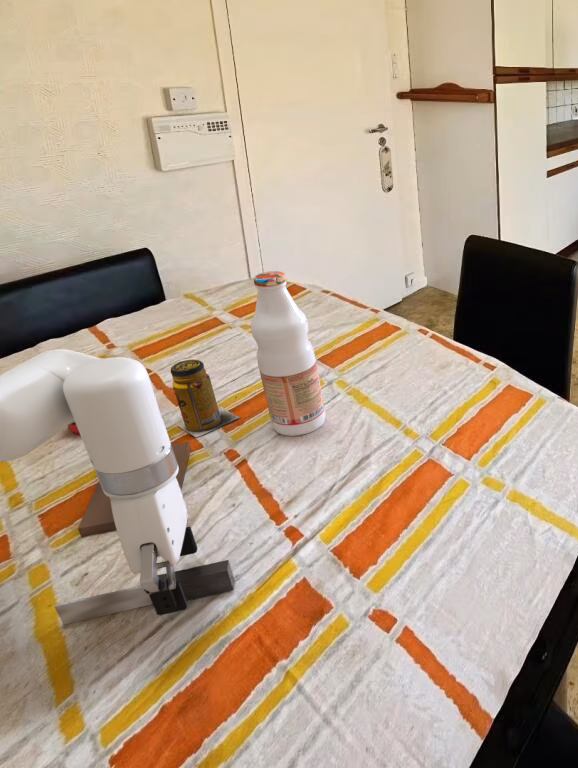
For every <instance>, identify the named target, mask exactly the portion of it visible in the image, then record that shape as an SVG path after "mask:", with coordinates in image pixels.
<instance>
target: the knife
mask: <svg viewBox="0 0 578 768" xmlns="http://www.w3.org/2000/svg"><path fill="white" fill-rule="evenodd" d="M174 571H175V580H176V581H177V582H178V581H179V582H180V585H181V587H182V590H183V593H184V596H185V598H186V601H187V602H189V601H193V600H197V599H201V598H206V597H211V596H215V595H219V594H224V593H228V592H232V591H234V590H235V589H234V588H235V576H234V573H233V570H232V566H231V563H230V560H229V559H226V560H225V559H224V560H221V561H217V562H212V563H207V564H202V565H198V566H193V567H189V568H188V567H187V568H185V569H180V570H174ZM157 576H158V577H159V580H160V579H167V573H161V574H157ZM151 605H152V606H153V604H152V601H151V599H150V596H149V595H148V594H147V593H146V592H145V591H144V588H143V587H141V585H137V586H134V587H128V588H124V589H120V590H115V591H110V592H106V593H102V594H97V595H93V596H88V597H87V596H86V597H84V598H79V599H73V600H70V601H64V602H60V603H57V604H55V605H54V609H55V611H56V613H57V615H58V618H59V619H60V621H61V623H62V625H68V624H72V623H76V622H81V621H86V620H90V619H94V618H98V617H103V616H107V615H112V614H116V613H120V612H121V613H122V612H125V611H130V610H134V609H138V608H142V607H146V606H147V607H148V606H151Z"/></svg>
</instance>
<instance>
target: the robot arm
mask: <svg viewBox="0 0 578 768" xmlns="http://www.w3.org/2000/svg"><path fill="white" fill-rule="evenodd" d="M154 390H155V389H154V387H153V383H152V380H151V378H150V375H149V373H148V370H147V369H146V367H145V366H144V364H142V363H141V362H139V361H138V360H136V359H134V358H130V357H124V356H123V357H122V356H115V357H113V356H112V357H107V358H101V357H98V356H94V355H90V354H86V353H82V352H79V351H76V350H71V349H65V348H55V349H49V350H46V351H42V352H41V353H38V354H36V355H34V356H33V357H31V358H29V359H27V360H25V361H24V362H22V363H20V364H19V365H16V366H14V367H12V368H10V369H8V370H7V371H5V372H3V373H1V374H0V462H9V461H15V460H17V459H20V458H22V457H24V456H27V455H28V454H30V453H31V452H33V451H34V450H35V449H38V447H40V446H41V445H42V444H44V443H45V442H47V441H48V440H50V438H52V437H53V436H55V435H56V434H57V433H59V432H60V431H62V430H63V429H64V428H65V427H68V425H69V424H71V423H73V422H75V423H76V425H77V428H78V430H79V433H80V435H79V436H80V438H81V440H82V442H83V446H84V448H85V450H86V452H87V455H88V457H89V459H90V462H91V465H92V467H93V470H94V472H95V474H96V477H97V480H98V481H99V482H100V484H101V487H102V490H103V492H104V494H105V495H107V496H108V497H110V498H111V507H112V513H113V517H114V522H115V526H116V529H117V530H116V532H117V536H118V539H119V542H120V546H121V548H122V551H123V554H124V557H125V560H126V563H127V567H128V569H129V571H130V572H131V573H132V574H134V575H137V574H139V573H140V574H139V585H140V586H141V587H143V588H144V591H145V592H146V593H147V594H148V595H149V596H150V599H151V601H152V606H153V608H154V611H155V614H156V615H157V616H164V615H168V614H173V613H178V612H181V611H185V610H187V608H188V601H186V598H185V596H184V593H183V590H182V587H181V585H180V582H179V581H178V582H177V581H176V580H175V571H176V570H175V565H176V563H177V562H178V561H179V559H180V558H181V557H184V556H185V557H186V556H189V555H193V554H196V553H197V552H198V545H197V542H196V540H195V536H194V533H193V530H192V527H191V526H189V524H190V522H189V521H190V520H189V517H188V509H187V506H186V501H185V498H184V496H183V492H182V488H181V489H180V487H179V484H178V481H177V479H176V476H177V474H178V471H179V467H178V464H177V461H176V458H175V455H174V452H173V449H172V442H171V439H170V438H169V434H168V431H167V427H166V424H165V421H164V418H163V414H162V413H161V409H160V406H159V402H158V399H157V397H156V394H155V391H154ZM159 557H161V558H162V559H163V560H164V561H161V562H158V558H159ZM163 568H165V572H166V573H167V579H160V580H159V577H158V576H157V575H158V571H157V570H159V569H163Z"/></svg>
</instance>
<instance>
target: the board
mask: <svg viewBox="0 0 578 768" xmlns="http://www.w3.org/2000/svg"><path fill="white" fill-rule="evenodd" d="M171 445H172V449H173V452H174V455H175V458H176V461H177V464H178V467H179V471H178V474H177V476H176V479H177V481H178V484H179V487H180V489H181V490H182V487H183V484H184V479H185V474H186V470H187V467H188V462H189V458H190V455H191V450H192V448H191V445H190V442H189V441H184V442H178V443H173V444H172V443H171ZM77 531H78V532H79V536H80V537H87V536H93V535H97V534H102V533H108V532H112V531H117V529H116V526H115V522H114V517H113V513H112V507H111V500H110V498H109V497H108V496H107V495H105V494H104V492H103V490H102V487H101V484H100V482H99V480H98V482H97V483H96V486H95V488H94V491H93V493H92V495H91V497H90V500H89V501H88V504H87V506H86V509H85V511H84V513H83V515H82V517H81V520H80V522H79V525H78V527H77Z"/></svg>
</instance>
